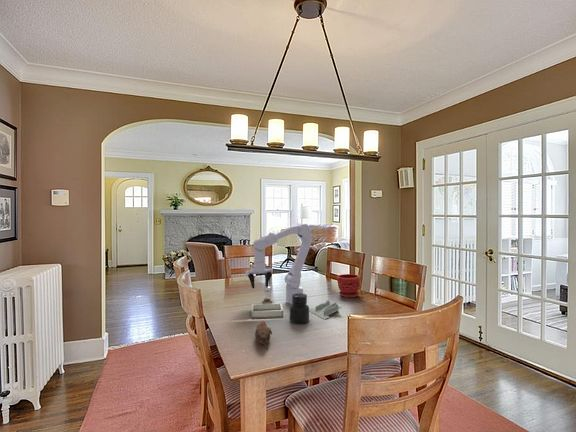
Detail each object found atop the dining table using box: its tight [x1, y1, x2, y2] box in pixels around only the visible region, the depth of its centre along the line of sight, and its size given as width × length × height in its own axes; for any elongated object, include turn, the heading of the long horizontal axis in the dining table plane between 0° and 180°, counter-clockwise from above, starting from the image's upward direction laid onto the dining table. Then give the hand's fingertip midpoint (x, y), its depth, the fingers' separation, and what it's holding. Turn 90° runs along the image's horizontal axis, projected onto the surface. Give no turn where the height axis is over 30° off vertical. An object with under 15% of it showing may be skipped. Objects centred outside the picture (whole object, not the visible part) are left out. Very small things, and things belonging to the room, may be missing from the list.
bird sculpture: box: [254, 320, 273, 349], centre depth 125 cm, size 7×25×5 cm, turn 8°
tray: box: [250, 302, 284, 320], centre depth 155 cm, size 15×12×4 cm
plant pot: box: [336, 273, 361, 298], centre depth 189 cm, size 13×13×12 cm
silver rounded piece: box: [262, 285, 272, 304], centre depth 167 cm, size 4×4×10 cm
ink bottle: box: [289, 293, 310, 325], centre depth 146 cm, size 10×9×12 cm
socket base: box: [259, 299, 275, 304], centre depth 167 cm, size 8×8×2 cm
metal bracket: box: [309, 300, 342, 321], centre depth 157 cm, size 14×6×15 cm
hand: (259, 287), depth 168 cm, fingers open, 7 cm apart
